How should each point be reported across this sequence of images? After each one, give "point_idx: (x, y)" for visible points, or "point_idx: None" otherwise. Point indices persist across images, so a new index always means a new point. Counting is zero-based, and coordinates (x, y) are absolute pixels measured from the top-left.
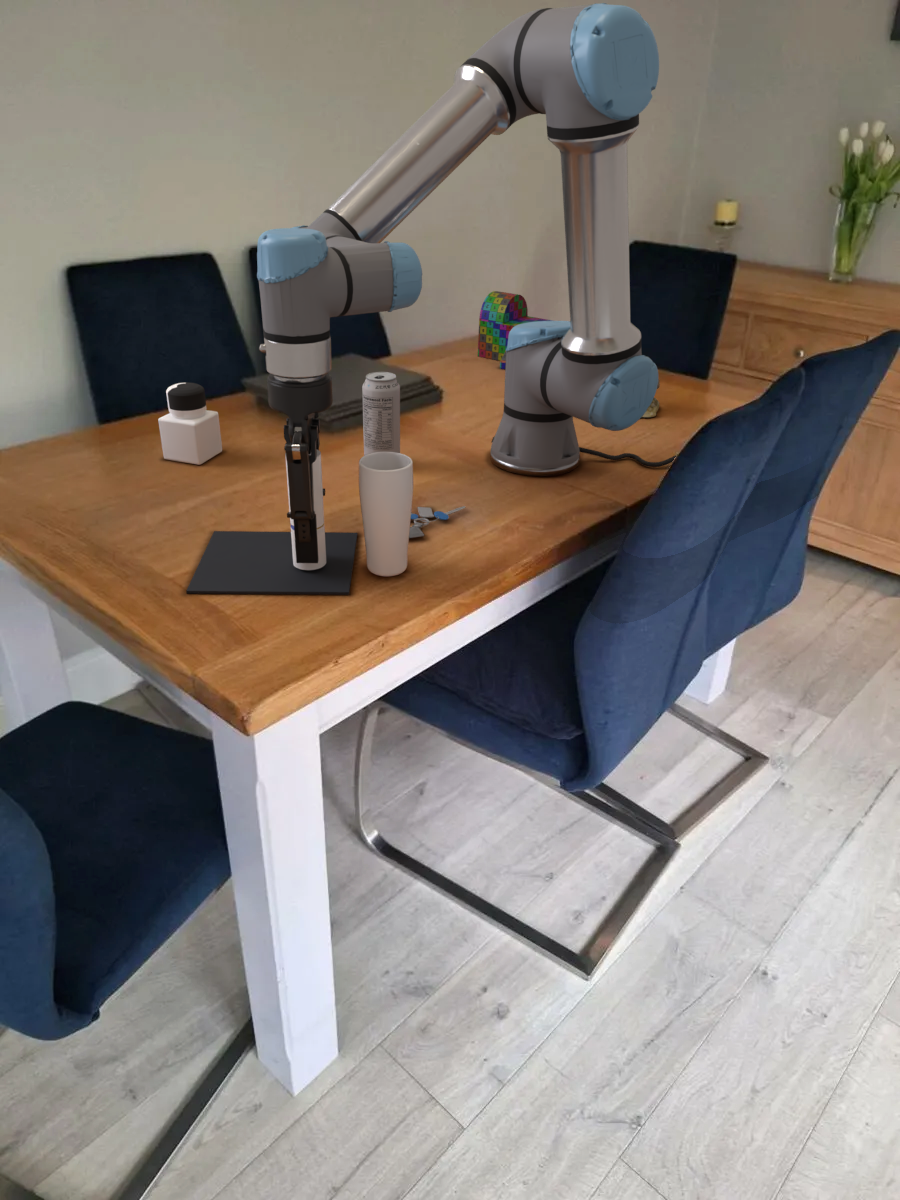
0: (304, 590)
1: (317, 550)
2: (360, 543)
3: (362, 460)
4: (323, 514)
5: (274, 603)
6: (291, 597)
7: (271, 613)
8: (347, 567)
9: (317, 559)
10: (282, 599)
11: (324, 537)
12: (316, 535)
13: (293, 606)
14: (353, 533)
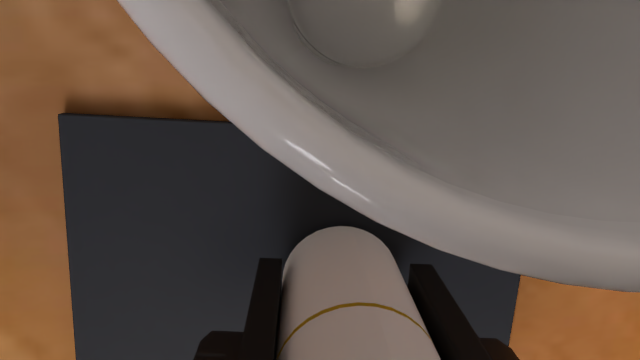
0: (511, 281)
1: (437, 286)
2: (137, 100)
3: (503, 205)
4: (383, 335)
5: (552, 353)
6: (524, 311)
7: (607, 355)
8: None
9: (436, 271)
10: (532, 334)
11: (368, 272)
12: (469, 326)
13: (579, 301)
14: (68, 129)
